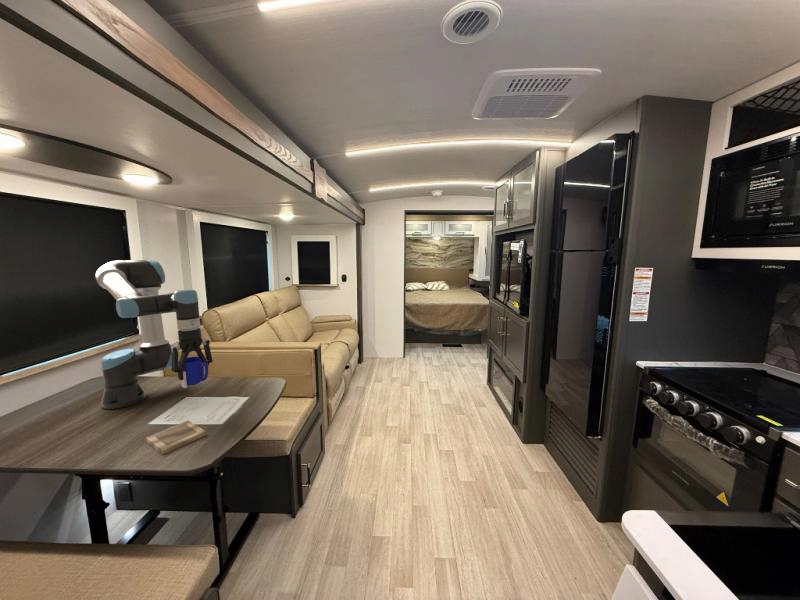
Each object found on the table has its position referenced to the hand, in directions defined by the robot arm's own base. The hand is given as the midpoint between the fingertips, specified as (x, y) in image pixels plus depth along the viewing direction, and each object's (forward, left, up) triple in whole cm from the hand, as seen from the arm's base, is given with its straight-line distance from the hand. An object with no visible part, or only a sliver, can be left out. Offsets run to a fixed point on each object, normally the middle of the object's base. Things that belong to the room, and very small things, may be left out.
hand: (194, 383), depth 126 cm
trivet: (+8, -11, -15) cm, 21 cm away
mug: (0, +1, -1) cm, 1 cm away
